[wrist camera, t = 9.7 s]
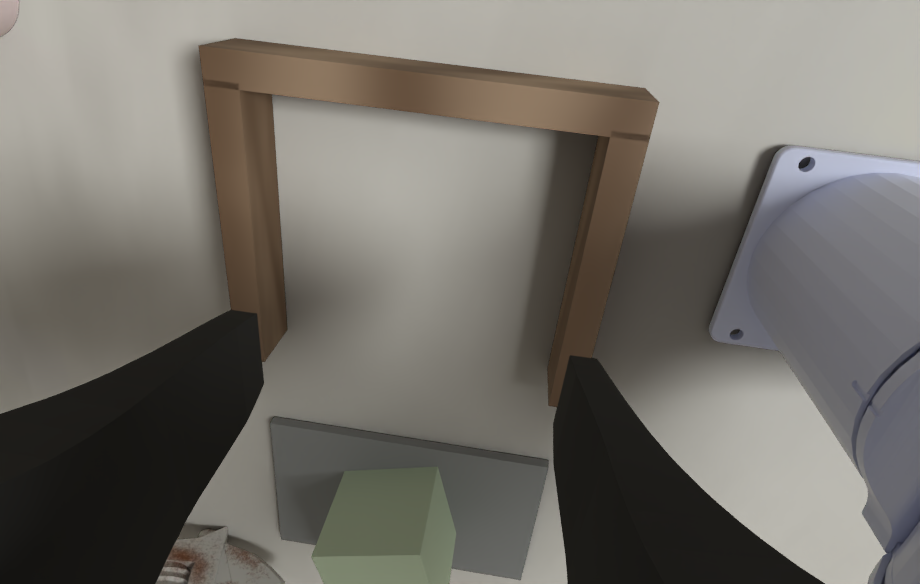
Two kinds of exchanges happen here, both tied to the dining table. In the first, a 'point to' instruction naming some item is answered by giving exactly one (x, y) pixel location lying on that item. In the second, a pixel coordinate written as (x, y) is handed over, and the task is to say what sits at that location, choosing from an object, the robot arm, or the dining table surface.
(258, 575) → the wrench
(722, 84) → the dining table surface
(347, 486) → the cube
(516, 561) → the mat
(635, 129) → the wooden u-shaped frame
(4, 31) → the smoothie
